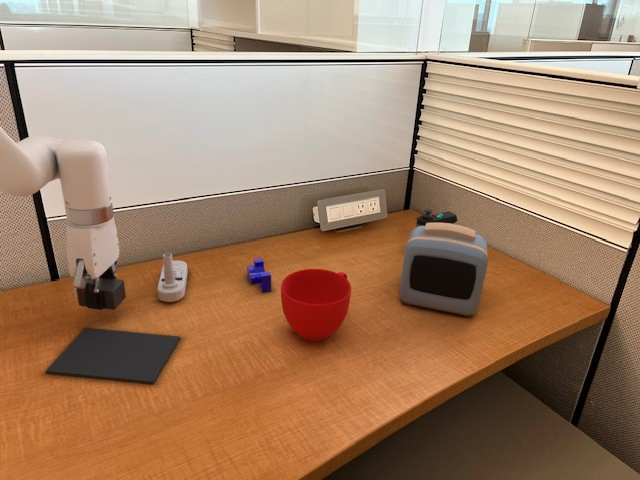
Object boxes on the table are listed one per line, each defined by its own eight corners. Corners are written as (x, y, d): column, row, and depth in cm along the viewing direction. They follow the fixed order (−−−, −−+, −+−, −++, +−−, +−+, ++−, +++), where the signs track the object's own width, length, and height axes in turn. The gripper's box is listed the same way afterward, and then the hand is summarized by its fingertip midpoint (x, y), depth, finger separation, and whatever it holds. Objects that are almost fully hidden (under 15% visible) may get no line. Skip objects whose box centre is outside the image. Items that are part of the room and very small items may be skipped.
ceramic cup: (370, 317, 96) (374, 274, 92) (323, 361, 84) (326, 313, 79) (317, 296, 103) (319, 255, 99) (266, 334, 90) (265, 288, 86)
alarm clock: (396, 305, 101) (405, 237, 94) (407, 270, 115) (415, 209, 108) (476, 321, 97) (492, 251, 90) (477, 283, 111) (490, 220, 104)
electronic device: (185, 231, 108) (180, 260, 94) (188, 269, 112) (184, 302, 98) (160, 232, 107) (151, 261, 93) (164, 271, 111) (157, 304, 97)
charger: (72, 305, 90) (69, 286, 88) (85, 292, 94) (82, 275, 92) (115, 310, 90) (112, 291, 88) (126, 297, 94) (123, 279, 92)
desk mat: (46, 373, 78) (45, 370, 78) (85, 330, 89) (85, 327, 89) (153, 384, 77) (153, 381, 77) (180, 339, 88) (179, 336, 87)
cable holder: (247, 275, 110) (246, 260, 108) (262, 273, 111) (262, 258, 109) (255, 293, 103) (255, 277, 101) (271, 291, 104) (271, 275, 102)
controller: (410, 243, 129) (414, 208, 125) (445, 235, 135) (450, 202, 130) (420, 249, 126) (425, 214, 122) (455, 242, 131) (462, 208, 127)
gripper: (94, 194, 92) (105, 277, 100) (39, 229, 77) (58, 324, 84) (132, 198, 91) (140, 281, 99) (84, 234, 76) (99, 328, 84)
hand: (102, 299), depth 92 cm, fingers closed on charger, 4 cm apart
